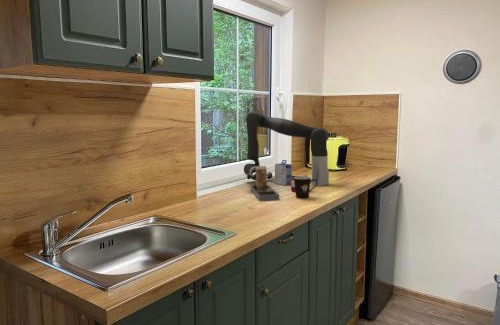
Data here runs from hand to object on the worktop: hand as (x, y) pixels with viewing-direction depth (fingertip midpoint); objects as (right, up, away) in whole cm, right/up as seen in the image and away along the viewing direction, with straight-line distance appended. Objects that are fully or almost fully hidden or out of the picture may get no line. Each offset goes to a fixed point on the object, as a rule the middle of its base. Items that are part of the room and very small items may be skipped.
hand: (261, 177), depth 200 cm
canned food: (+21, -8, +3) cm, 23 cm away
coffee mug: (+22, -9, -13) cm, 27 cm away
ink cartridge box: (+14, -5, +24) cm, 28 cm away
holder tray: (+1, -9, -5) cm, 10 cm away
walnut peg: (0, -8, +3) cm, 8 cm away
